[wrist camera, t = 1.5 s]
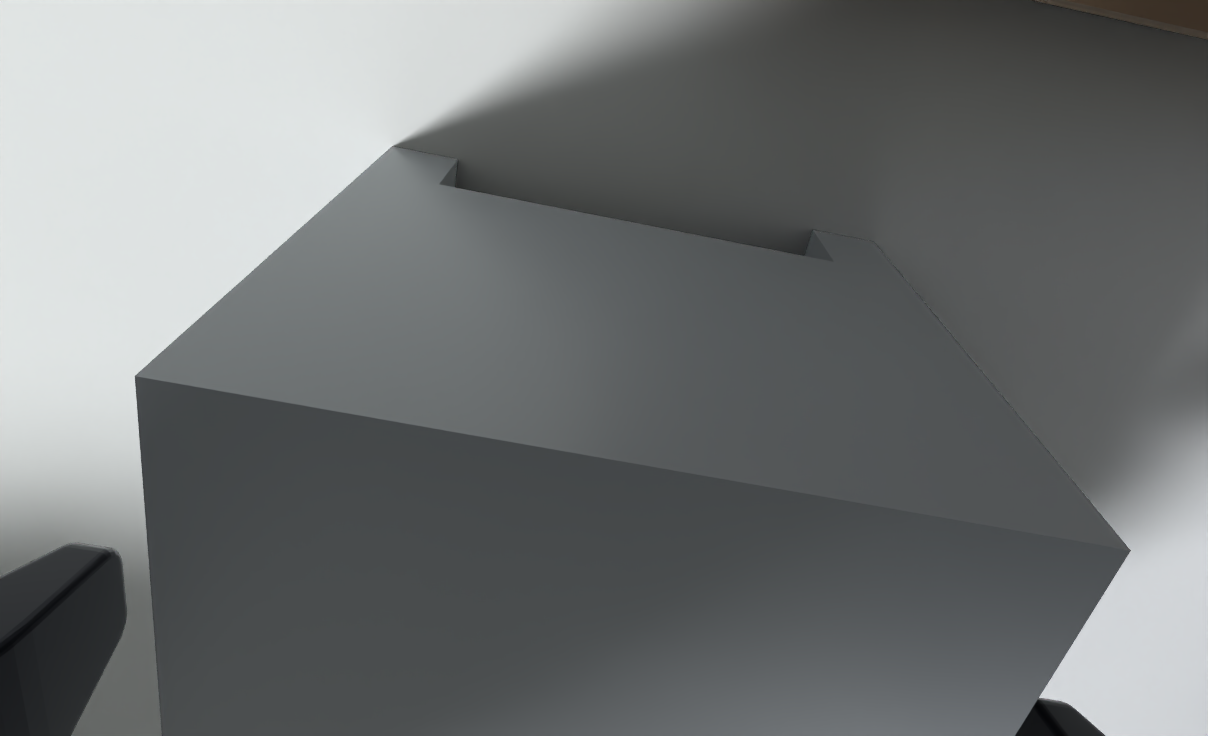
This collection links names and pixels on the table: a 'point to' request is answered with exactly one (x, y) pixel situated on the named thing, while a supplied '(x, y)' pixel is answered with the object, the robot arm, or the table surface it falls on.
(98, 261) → the table surface
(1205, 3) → the rail base
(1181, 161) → the table surface
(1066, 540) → the block
